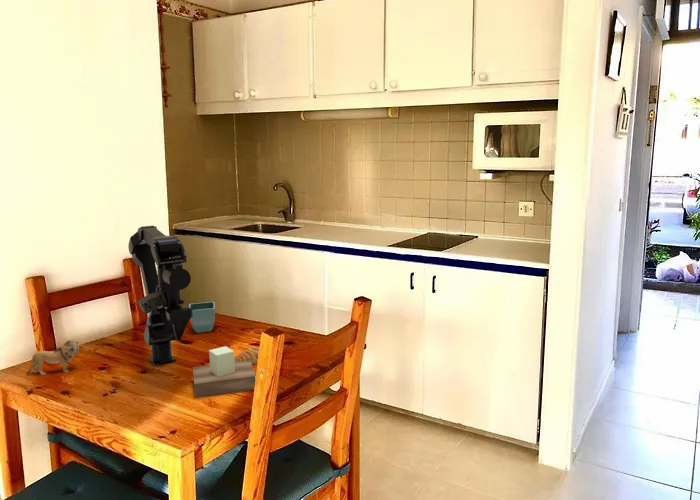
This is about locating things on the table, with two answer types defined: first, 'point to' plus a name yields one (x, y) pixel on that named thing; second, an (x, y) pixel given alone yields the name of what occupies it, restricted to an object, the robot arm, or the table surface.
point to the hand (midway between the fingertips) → (173, 335)
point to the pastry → (248, 355)
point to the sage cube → (222, 361)
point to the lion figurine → (55, 356)
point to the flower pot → (203, 316)
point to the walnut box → (223, 380)
